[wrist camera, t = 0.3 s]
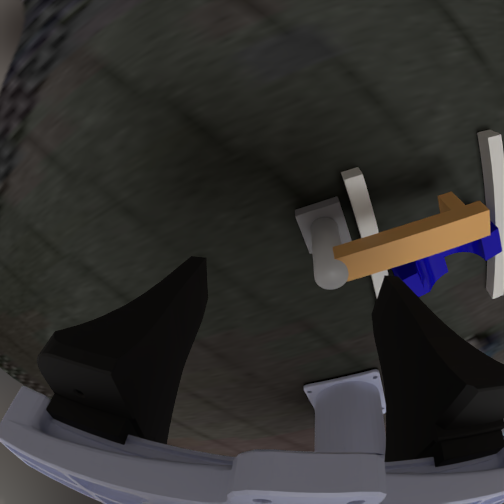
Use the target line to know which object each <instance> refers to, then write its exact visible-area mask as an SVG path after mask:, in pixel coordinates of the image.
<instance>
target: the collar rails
mask: <svg viewBox="0 0 504 504" xmlns="http://www.w3.org/2000/svg"><path fill="white" fill-rule="evenodd" d="M477 136H478V142H479V148H480V154H481V162H482V169H483V178H484V188H485V200H486V207H487V208H488V209H489V210H490V220H491V221H492V222H493V223H494V224H495V225H496V226H497V227H498V229H499V234H500V240H501V246H502V252H500V253H499V254H497V255H495V256H494V257H492V258H490V259H488V260H487V280H486V289H487V291H488V292H489V294H490V296H491V297H492V299H494V298H497V297H499V296H502V295H503V293H504V154H503V146H502V138H501V134H499V133H497V132H494V131H492V130H490V129H489V130H485V131H482V132H478V133H477ZM341 175H342V178H343V181H344V184H345V187H346V190H347V193H348V196H349V199H350V203H351V206H352V209H353V212H354V216H355V219H356V222H357V226H358V229H359V233H360V236H361V238H364V237H367V236H370V235H373V234H377V233H379V232H378V228H377V224H376V220H375V216H374V212H373V208H372V205H371V201H370V197H369V194H368V190H367V187H366V183H365V180H364V177H363V174H362V172H361V171H360V169H359V167H356V168H353V169H350V170H347V171H343V172H341ZM322 217H328V218H331V219H333V220H334V221H335V222H336V224H337V226H338V230H339V234H340V238H341V242H342V244H344V243H347V242H351V241H352V240H351V237H350V234H349V230H348V227H347V224H346V221H345V218H344V214H343V211H342V208H341V205H340V202H339V199H338V196H336V197H333V198H330V199H327V200H324V201H321V202H318V203H315V204H312V205H308V206H305V207H302V208H299V209H296V210H295V218H296V220H297V223H298V225H299V227H300V230H301V233H302V235H303V238H304V240H305V243H306V245H307V248H308V250H309V253H310V254H311V253H313V252H312V240H311V226H312V224H313V222H314V221H315V220H317V219H319V218H322ZM385 275H386V276H388V271H387V270H384V271H381V272H378V273H374V274H371V278H372V282H373V286H374V290H375V295H376V299H377V297H378V294H379V291H380V288H381V285H382V282H383V279H384V276H385Z"/></svg>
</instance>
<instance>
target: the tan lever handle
mask: <svg viewBox="0 0 504 504" xmlns="http://www.w3.org/2000/svg"><path fill="white" fill-rule="evenodd" d="M438 201H439V208H440V214H437V215H434V216H431V217H427V218H424V219H421V220H418V221H415V222H412V223H409V224H405V225H402V226H399V227H396V228H393V229H389V230H386V231H383V232H380V233H377V234H373V235H370V236H367V237H364V238H360V239H357V240H354V241H351V242H347V243H344V244H342V242H341V238H340V234H339V230H338V226H337V224H336V222H335V221H334V220H333V219H331V218H328V217H322V218H319V219H317V220H315V221H314V222H313V224H312V226H311V240H312V252H313V265H314V278H315V281H316V283H317V284H318V285H319V286H320V287H322V288H324V289H337V288H339V287H341V286H342V285H344V284H345V283H346V282H347V281H351V280H354V279H358V278H361V277H364V276H368V275H371V274H374V273H378V272H381V271H384V270H388V269H391V268H394V267H397V266H400V265H404V264H407V263H410V262H413V261H416V260H419V259H422V258H425V257H428V256H431V255H434V254H437V253H440V252H443V251H446V250H449V249H452V248H455V247H458V246H461V245H464V244H467V243H470V242H472V241H475V240H478V239H481V238H484V237H486V236H489V235H490V210H489V209H488V208H487V207H486V206H485V205H484V204H483V203H482V202H481V201H477V202H474V203H471V204H468V205H465V204H464V203H463V202H462V201H461V200H460V199H459V198H458V197H457V196H456V195H454V194H453V193H452V192H448V193H445V194H442V195H439V196H438Z"/></svg>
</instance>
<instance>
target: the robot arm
mask: <svg viewBox="0 0 504 504" xmlns="http://www.w3.org/2000/svg"><path fill="white" fill-rule="evenodd" d="M207 300H208V289H207V268H206V258H202V257H193V256H191V257H190V258H189V259H188V260H186V261H185V262H184V263H183V264H181V265H180V266H179V267H178V268H177V269H175V270H174V271H173V272H172V273H171V274H169V275H168V276H167V277H166V278H164V279H163V280H162V281H161V282H159V283H158V284H157V285H155V286H154V287H152V288H151V289H150V290H148V291H147V292H146V293H144V294H143V295H141V296H140V297H138V298H136V299H135V300H133V301H131V302H130V303H128V304H126V305H124V306H123V307H121V308H118V309H116V310H114V311H112V312H110V313H108V314H106V315H104V316H102V317H99V318H97V319H94V320H92V321H89V322H86V323H83V324H80V325H77V326H74V327H70V328H66V329H63V330H59V331H55V332H54V334H53V335H52V336H51V338H50V339H49V341H48V342H47V344H46V345H45V346H44V348H43V349H42V351H41V352H40V354H39V355H38V358H37V363H38V367H39V369H40V371H41V373H42V375H43V376H44V378H45V380H46V381H47V383H48V384H49V386H50V387H51V389H52V390H53V392H54V393H55V394H54V396H53V397H52V399H51V400H50V399H49V398H48V397H47V396H45V395H43V394H42V393H39V392H37V391H35V390H32V389H30V388H28V387H26V386H22V387H21V388H20V390H19V392H18V394H17V395H16V397H15V398H14V400H13V402H12V403H11V405H10V407H9V409H8V410H7V412H6V414H5V416H4V417H3V419H2V421H1V423H0V442H1V443H3V445H5V446H6V447H7V448H8V449H9V450H10V451H12V453H14V454H15V455H16V456H17V457H19V458H20V459H21V460H22V461H23V462H24V463H26V464H27V465H28V466H30V467H32V468H34V469H36V470H37V471H39V472H41V473H43V474H44V475H46V476H48V477H50V478H52V479H54V480H56V481H58V482H60V483H62V484H64V485H66V486H67V487H69V488H71V489H74V490H76V491H78V492H80V493H82V494H84V495H86V496H88V497H91V498H93V499H95V500H98V501H100V502H102V503H104V504H501V503H503V502H504V436H503V434H502V431H501V429H503V428H504V420H503V418H504V364H502V363H500V362H498V361H496V360H494V359H492V358H491V357H489V356H487V355H486V354H484V353H482V352H481V351H479V350H478V349H476V348H475V347H473V346H472V345H471V344H469V343H468V342H466V341H465V340H464V339H462V338H461V337H460V336H459V335H457V334H456V333H455V332H454V331H453V330H451V329H450V328H449V327H448V326H447V325H446V324H444V323H443V322H442V321H441V320H440V319H439V318H438V317H437V316H436V315H435V314H434V313H433V312H432V311H431V310H430V309H429V308H428V307H427V306H426V305H425V304H424V303H423V302H422V301H421V300H420V298H419V297H418V296H417V295H416V294H415V293H414V292H413V291H412V290H411V289H410V288H409V287H408V286H407V285H406V284H405V283H404V282H403V281H402V280H401V279H400V278H399V277H397V276H386V275H385V276H384V279H383V282H382V285H381V288H380V291H379V294H378V297H377V300H376V303H375V306H374V309H373V312H372V320H373V331H374V337H375V342H376V347H377V351H378V356H379V360H380V365H381V369H382V374H383V379H384V386H385V397H384V392H383V387H382V383H381V378H380V373H379V370H377V369H373V370H369V371H365V372H361V373H357V374H353V375H349V376H345V377H340V378H336V379H331V380H326V381H322V382H317V383H312V384H307V385H305V386H304V392H305V393H306V395H307V397H308V399H309V400H310V402H311V404H312V406H313V407H314V409H315V452H303V451H286V450H257V449H255V450H251V451H247V452H242V453H240V454H239V455H238V456H237V457H229V456H222V455H216V454H210V453H205V452H199V451H194V450H189V449H184V448H179V447H175V446H170V445H167V439H168V433H169V427H170V423H171V418H172V413H173V408H174V404H175V399H176V395H177V391H178V387H179V383H180V379H181V375H182V372H183V368H184V365H185V362H186V359H187V357H188V354H189V352H190V349H191V347H192V344H193V342H194V339H195V337H196V334H197V332H198V329H199V327H200V324H201V322H202V319H203V316H204V312H205V308H206V304H207ZM385 399H386V403H385ZM384 413H386V435H385V427H384V419H383V414H384Z"/></svg>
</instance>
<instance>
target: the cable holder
mask: <svg viewBox="0 0 504 504" xmlns="http://www.w3.org/2000/svg"><path fill="white" fill-rule="evenodd" d="M458 252H471V253H475V254H477V255H479V256H481V257H482V258H484V259H485V261H487V260H488V259H490V258H492V257H494V256H495V255H497V254H499V253H500V252H502V246H501V240H500V234H499V229H498V227H497V226H496V225H495V224H494V223H493V222H492V221H491V220H490V235H489V236H486V237H484V238H481V239H478V240H475V241H472V242H470V243H467V244H464V245H461V246H458V247H455V248H452V249H449V250H446V251H443V252H440V253H437V254H434V255H431V256H428V257H425V258H422V259H419V260H416V261H413V262H410V263H407V264H404V265H400V266H397V267H394V268H391V269H392V271H393V274H394V276H397V277H399V278H400V279H401V280H402V281H403V282H404V283H405V284H406V285H407V286H408V287H409V288H410V289H411V290H412V291H413V292H414V293H415V294H416V295H417V296H418V297H420V296H422V295H424V294H426V293H428V292H430V290H431V288H432V286H433V285H434V283H435V282H436V281H437V280H438V279H439V278H440V277H441V276H442V275H444V274H445V273H447V272H448V269H447V266H446V262H445V259H444V257H445V256H448V255H450V254H453V253H458Z"/></svg>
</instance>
